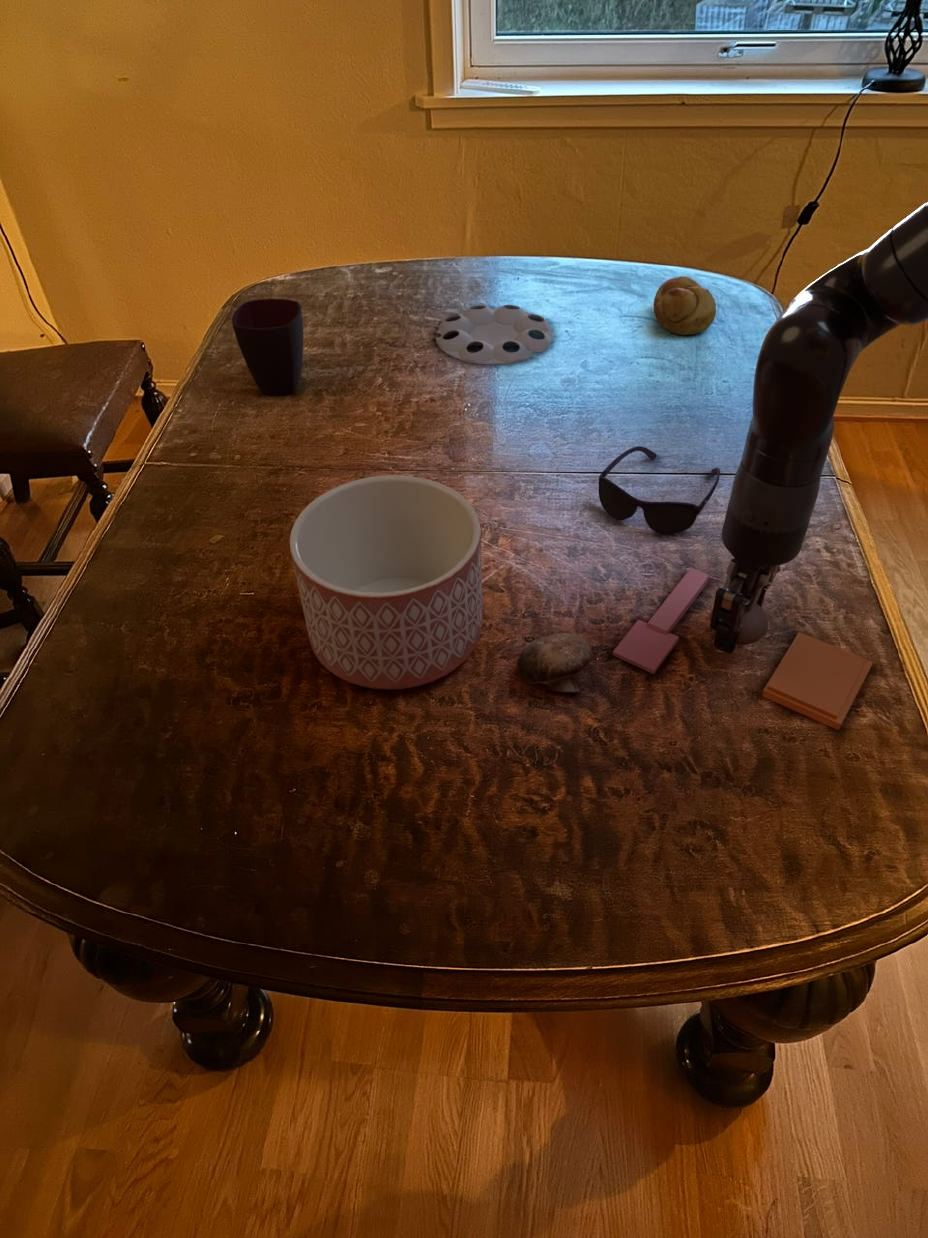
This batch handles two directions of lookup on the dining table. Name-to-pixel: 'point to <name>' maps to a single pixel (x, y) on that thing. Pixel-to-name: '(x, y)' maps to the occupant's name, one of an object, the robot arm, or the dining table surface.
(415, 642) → the planter
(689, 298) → the bread roll
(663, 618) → the spatula
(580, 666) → the mushroom
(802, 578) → the dining table surface
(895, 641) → the dining table surface
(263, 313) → the cup
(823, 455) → the robot arm
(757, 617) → the egg
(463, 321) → the paint palette
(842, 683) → the brown flat block
